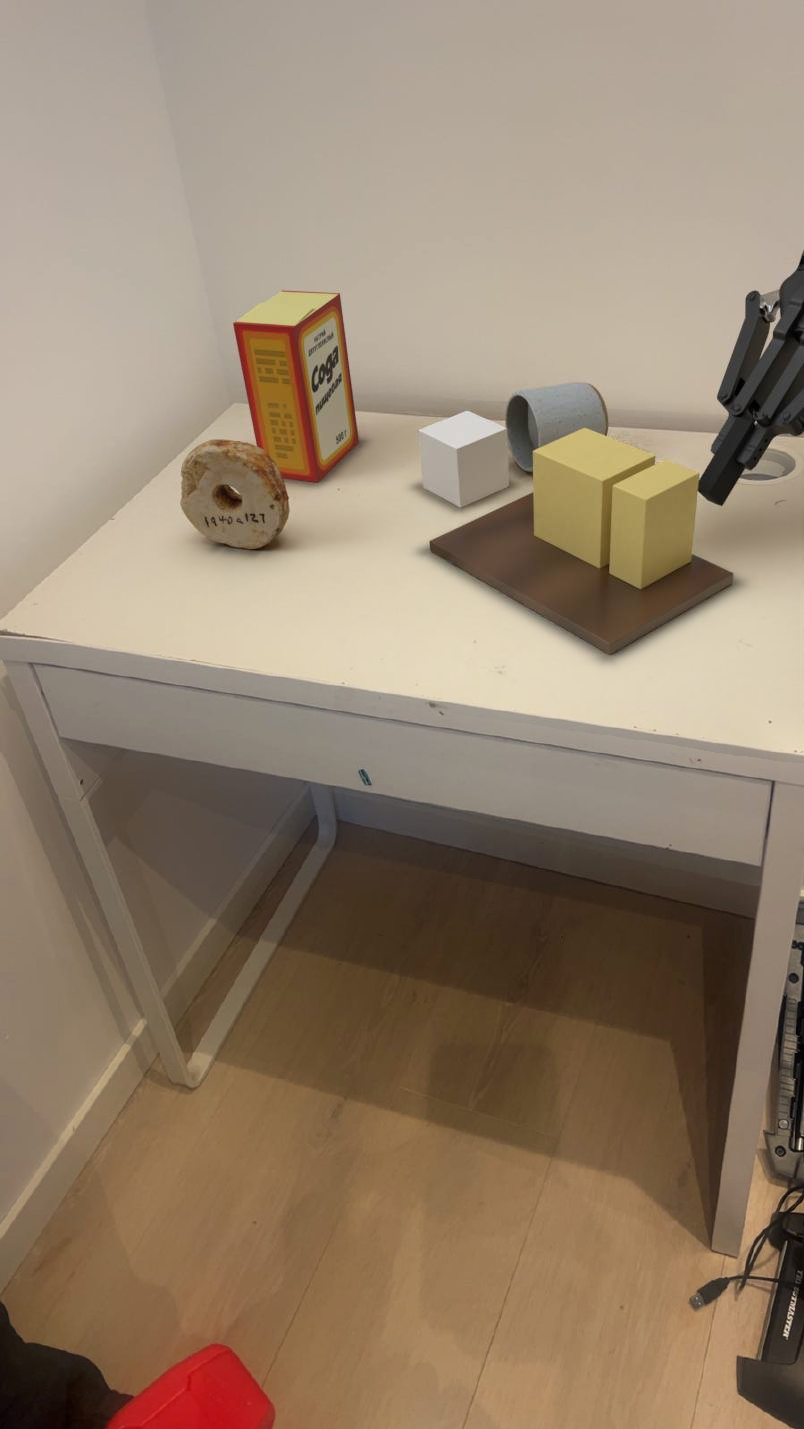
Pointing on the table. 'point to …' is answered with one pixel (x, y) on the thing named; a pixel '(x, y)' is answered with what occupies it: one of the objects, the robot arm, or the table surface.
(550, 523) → the butter block
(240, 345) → the baking soda box
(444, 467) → the white cube
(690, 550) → the block
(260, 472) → the stone disc
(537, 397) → the ceramic mug
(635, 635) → the butter board
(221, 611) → the table surface
